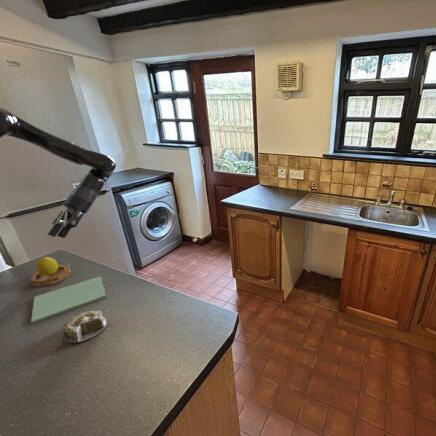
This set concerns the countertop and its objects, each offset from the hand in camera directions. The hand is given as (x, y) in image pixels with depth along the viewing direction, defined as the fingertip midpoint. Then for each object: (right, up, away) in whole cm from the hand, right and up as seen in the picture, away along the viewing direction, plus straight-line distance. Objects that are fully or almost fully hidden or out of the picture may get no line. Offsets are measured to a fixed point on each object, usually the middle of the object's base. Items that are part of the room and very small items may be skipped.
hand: (55, 236), depth 89 cm
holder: (-4, -16, +3) cm, 17 cm away
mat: (+12, -20, -7) cm, 25 cm away
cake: (+28, -26, -19) cm, 42 cm away
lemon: (-4, -15, +3) cm, 16 cm away
